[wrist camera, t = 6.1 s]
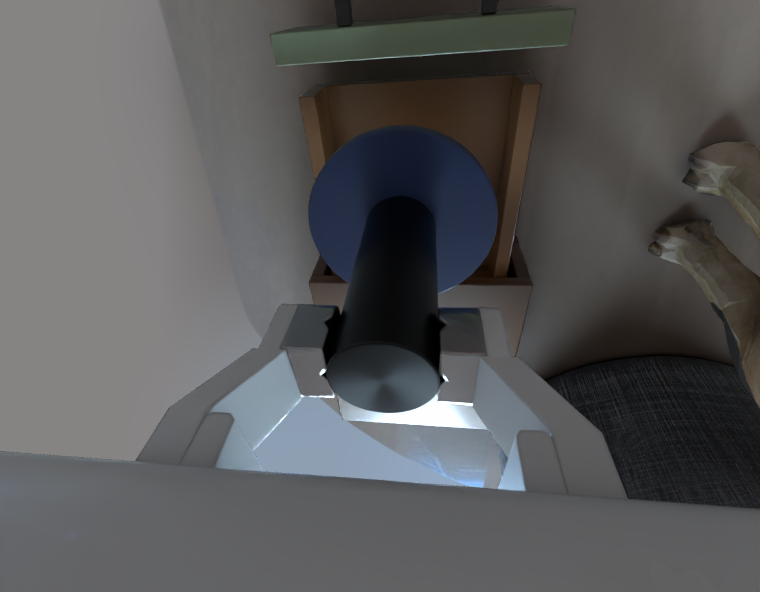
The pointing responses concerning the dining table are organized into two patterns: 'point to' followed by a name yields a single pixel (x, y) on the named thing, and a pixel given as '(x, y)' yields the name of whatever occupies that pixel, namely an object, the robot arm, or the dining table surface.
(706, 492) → the planter
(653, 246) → the figurine
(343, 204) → the lid
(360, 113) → the drawer
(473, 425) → the cabinet
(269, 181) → the dining table surface
